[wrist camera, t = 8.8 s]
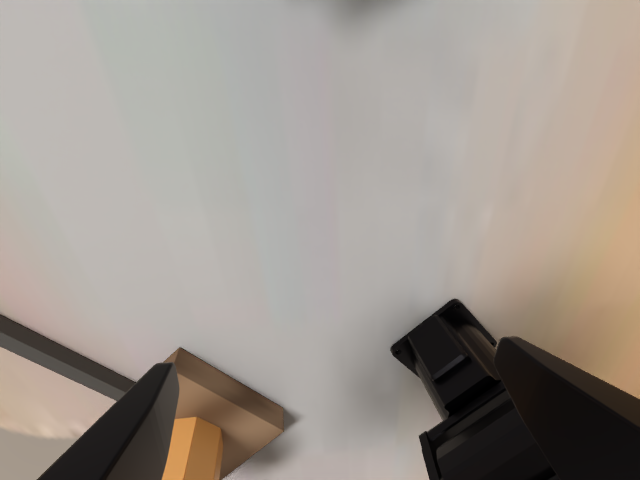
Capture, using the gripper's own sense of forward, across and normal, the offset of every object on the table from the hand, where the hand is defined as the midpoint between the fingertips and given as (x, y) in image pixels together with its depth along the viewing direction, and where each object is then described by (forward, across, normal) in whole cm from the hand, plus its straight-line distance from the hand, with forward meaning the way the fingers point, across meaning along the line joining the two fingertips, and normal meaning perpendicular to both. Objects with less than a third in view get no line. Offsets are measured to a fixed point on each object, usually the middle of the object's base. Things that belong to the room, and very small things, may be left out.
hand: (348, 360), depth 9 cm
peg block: (+12, +8, +17) cm, 22 cm away
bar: (+12, +18, +8) cm, 23 cm away
